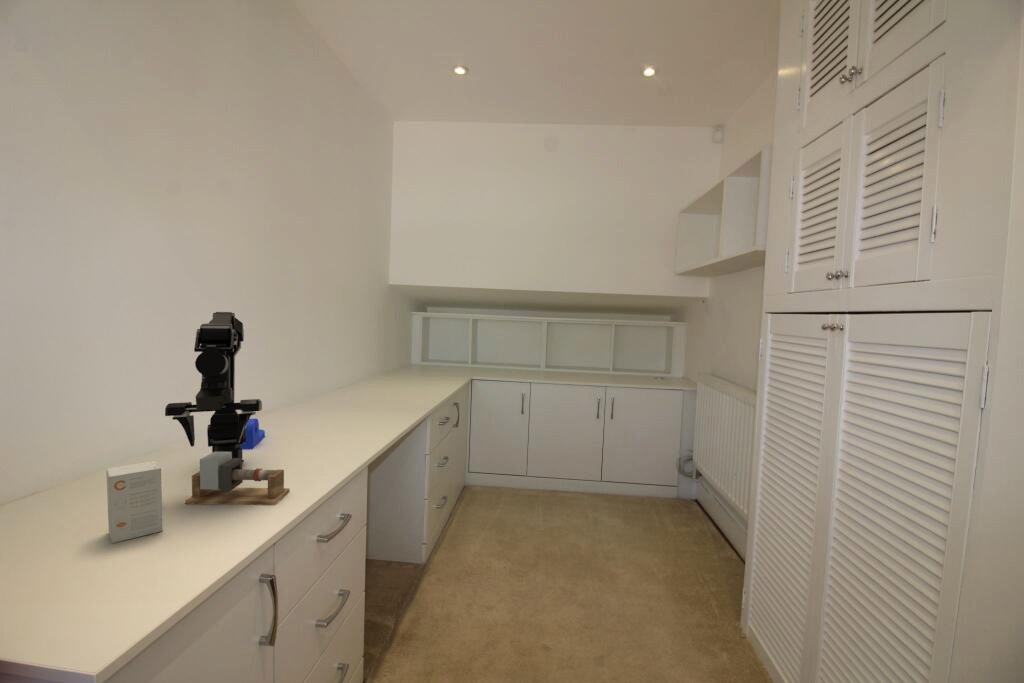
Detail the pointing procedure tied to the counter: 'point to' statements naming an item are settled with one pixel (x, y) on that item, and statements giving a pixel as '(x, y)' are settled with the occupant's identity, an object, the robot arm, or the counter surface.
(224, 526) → the counter surface
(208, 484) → the sleeve
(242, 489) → the wooden rail stand
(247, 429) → the bracket
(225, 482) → the collar
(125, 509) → the small box
